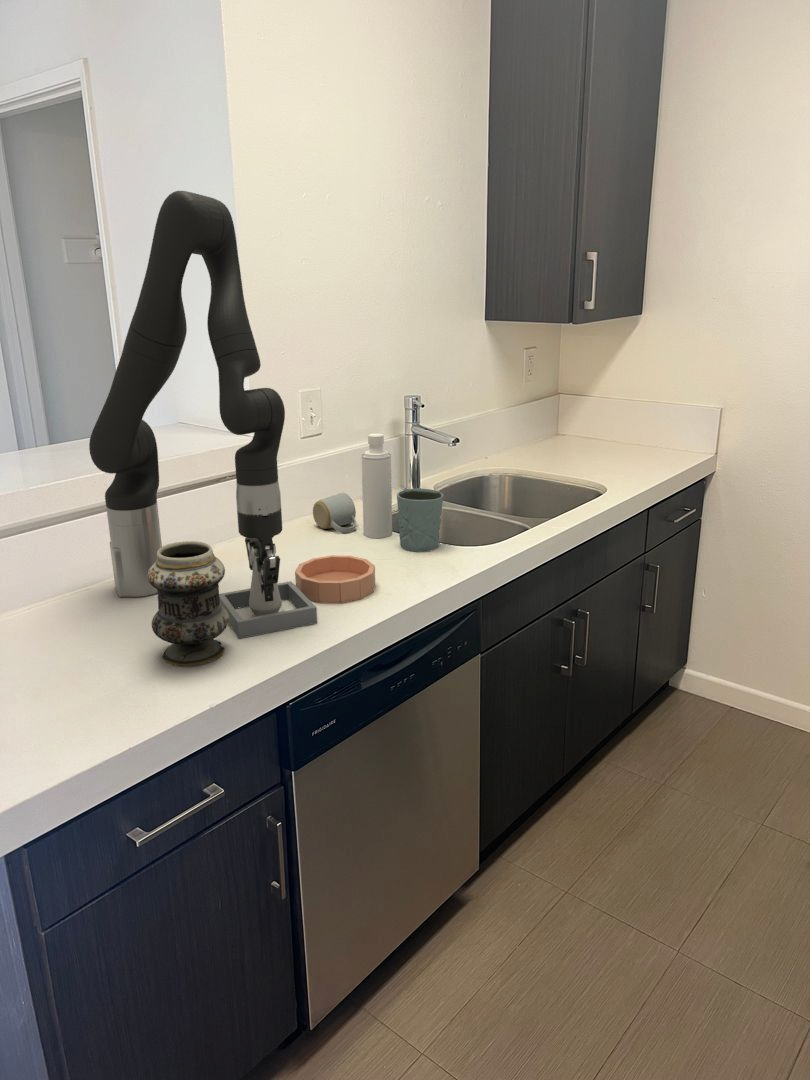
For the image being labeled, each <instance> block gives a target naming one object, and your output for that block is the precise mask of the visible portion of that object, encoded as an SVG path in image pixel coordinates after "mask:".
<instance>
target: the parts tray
mask: <svg viewBox="0 0 810 1080" xmlns="http://www.w3.org/2000/svg"><path fill="white" fill-rule="evenodd" d="M277 585H278V589H279V593H280V597H281V601H283V600H289V601H290V602H291V603H292V604H293V605H294V607H296V608H294V609H289V610H283V611H279V612H277V613H272V614H266V615H261V616H251V617H246V618H242V617H241V616H240V614H239V613H238V611H237V610H236V609H239V608H238V607H241V608H246V607H250V606H249V598H250V589H251V587H250V588H244V589H241V590H239V589H238V590H234V591H229V592H223V593H219V599H220V605H221V606H222V607H224V608H225V609H226V611H227V612H228V615H229V622H228V625H229V624H230V625H229V626H230V628H231V627H232V628H231V629H232V630H234V631H233V632H234V633H235V635H236V636H237V638H238V639H239V638H240V639H244V638H249V637H255V636H260V635H264V634H269V633H273V632H279V631H283V630H290V629H293V628H294V629H295V628H299V627H300V628H301V627H304V626H310V625H315V624H318V611H317V610H318V609H317V606H316V605H315V604H314V603H313V601H311V600H309V599H308V598H307V597H306V596H305V595H304V594H303V593H302V592H301V591H300V590H299V589H298V588H297V587H296V584H294V583H293V581H291V580H290V581H286V582H278V583H277ZM234 608H235V609H234Z"/></svg>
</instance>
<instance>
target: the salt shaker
mask: <svg viewBox="0 0 810 1080" xmlns="http://www.w3.org/2000/svg"><path fill="white" fill-rule="evenodd" d="M258 555H259V554H258ZM250 558H251V561H253V562H254V564H253V570H252V573H251V574H252V575H251V582H250V588H251V589H250V588H249V589H250V598H249V606H248V607H249V609H250V611H251V612H252V613H253V615H254V617H256V616H261V615H266V614H272V613H277V612H280V610H281V607H282V604H283V603H282V601H283V600H281V597H280V593H279V589H278V585H277V584H278V583H273V584H274V591H273V601H268V602H265V595H264V590H263V593H262V591H261V584H260V582H259V581H260V579H259V572H257V571H256V569H255V557H254V556H253V554H252V549H251V550H250ZM263 566H264V565H260V567H263ZM268 577H270V575H269V576H268ZM269 597H270V596H268V598H269Z"/></svg>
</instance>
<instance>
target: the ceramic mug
mask: <svg viewBox="0 0 810 1080" xmlns="http://www.w3.org/2000/svg"><path fill="white" fill-rule="evenodd" d="M356 513H357V511H356V506H355V502H354V500H353V499H352V498H351V496H350V495H349V494H348V493H346V492H340V493H336V494H334V495H330V496H327V497H324V498H321V499H319V500H317V501H316V502H315V503H314V505H313V506H312V515H313V520H314V522H315V523H316V525H317V526H318V527H319V528H320V529H324V530H330V529H333V530H335V531H337V532H339V533H341V534H348V533H352V532H354V531H355V530H356V525H357V520H356ZM350 524H352V526H350V527H349V526H348V527H342V526H346V525H350Z"/></svg>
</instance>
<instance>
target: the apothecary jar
mask: <svg viewBox="0 0 810 1080" xmlns="http://www.w3.org/2000/svg"><path fill="white" fill-rule="evenodd" d="M225 574H226V567H225V564H224V563H223V561H221V560H220V558H218V557H217V556H215V554H214V551H213V548H212V546H211V545H210V544H208V543H206V542H203V541H198V540H197V541H196V540H195V541H193V540H187V541H186V540H185V541H176V542H172V543H168V544H165V545H162V547H161V548H160V549H159V550H158V551H157V560H156V562H155V563H154V564H153V565H152V566H151V567H150V569H149V571H148V580H149V583H150V584H151V585H152V586H153V587H154V588H156V589H157V593H156V594H157V603H158V604H157V605H158V609H157V612H156V613H155V614H154V615H153V616H152V619H151V630H152V632H153V634H154V635H155V636H156V637H157V638H159V639H160V640H162V641H164V642H166V643H170V644H171V645H169V646H167V647H166V648H165V649H164V650H163V652H162V659H163V661H164V662H165V663H167V664H169V665H172V666H174V667H184V668H185V667H196V666H198V667H199V666H203V665H207V664H209V663H213V662H214V661H217V660H218V659H220V658H221V657H222V656H223V655H224V654H225V650H226V648H225V647H224V646H223V644H222V642H221V641H219V640H217V639H215V638H217V637H219V636H220V635H221V634H223V632H224V631H225V630H226V629H227V627H228V626H229V623H228V622H229V615H228V612H227V611H226V609H225V608H224V607H222V606H221V605H220V599H219V594H220V589H219V588H220V587H219V583H221V582H222V580H223V579H224V578H225Z"/></svg>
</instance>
